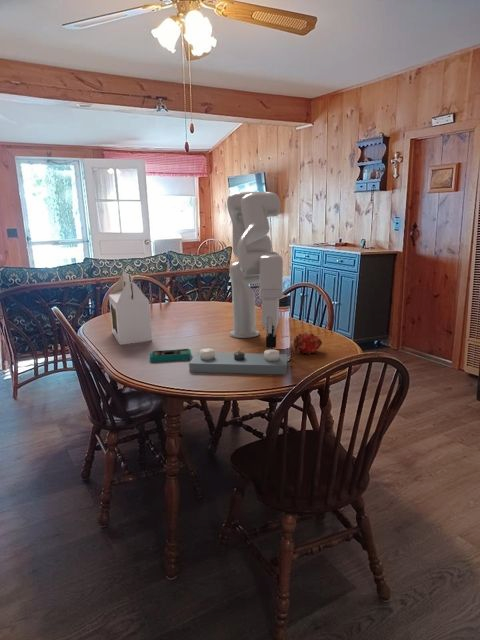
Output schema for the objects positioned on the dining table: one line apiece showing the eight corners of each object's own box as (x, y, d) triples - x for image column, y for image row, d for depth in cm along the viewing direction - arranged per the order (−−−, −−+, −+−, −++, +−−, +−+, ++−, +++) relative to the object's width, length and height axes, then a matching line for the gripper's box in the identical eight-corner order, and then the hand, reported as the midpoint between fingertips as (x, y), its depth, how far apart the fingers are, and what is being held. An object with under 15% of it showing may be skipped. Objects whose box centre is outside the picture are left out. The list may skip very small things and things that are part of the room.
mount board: (197, 360, 162) (197, 352, 162) (287, 362, 158) (287, 354, 157) (189, 371, 151) (189, 363, 150) (285, 374, 146) (285, 365, 145)
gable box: (152, 341, 189) (147, 274, 183) (120, 345, 184) (113, 276, 178) (141, 329, 209) (136, 268, 203) (112, 333, 204) (106, 271, 198)
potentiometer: (234, 356, 156) (234, 347, 155) (245, 357, 155) (245, 347, 154) (233, 360, 152) (233, 350, 151) (243, 360, 152) (243, 350, 151)
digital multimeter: (150, 357, 169) (150, 350, 168) (190, 355, 170) (190, 347, 170) (149, 364, 161) (148, 356, 161) (191, 361, 163) (190, 353, 163)
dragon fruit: (290, 358, 167) (318, 359, 171) (300, 350, 160) (330, 351, 164) (286, 337, 170) (314, 338, 175) (296, 328, 163) (325, 329, 167)
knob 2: (265, 364, 155) (264, 349, 154) (279, 365, 155) (279, 349, 153) (263, 369, 151) (263, 353, 149) (278, 370, 150) (278, 354, 149)
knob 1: (202, 363, 159) (201, 348, 157) (216, 363, 158) (215, 348, 157) (199, 368, 154) (198, 352, 152) (213, 368, 153) (213, 352, 152)
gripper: (261, 288, 155) (262, 340, 159) (257, 297, 140) (257, 353, 145) (283, 288, 154) (283, 340, 158) (281, 298, 139) (281, 354, 144)
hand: (271, 346), depth 152 cm, fingers closed
